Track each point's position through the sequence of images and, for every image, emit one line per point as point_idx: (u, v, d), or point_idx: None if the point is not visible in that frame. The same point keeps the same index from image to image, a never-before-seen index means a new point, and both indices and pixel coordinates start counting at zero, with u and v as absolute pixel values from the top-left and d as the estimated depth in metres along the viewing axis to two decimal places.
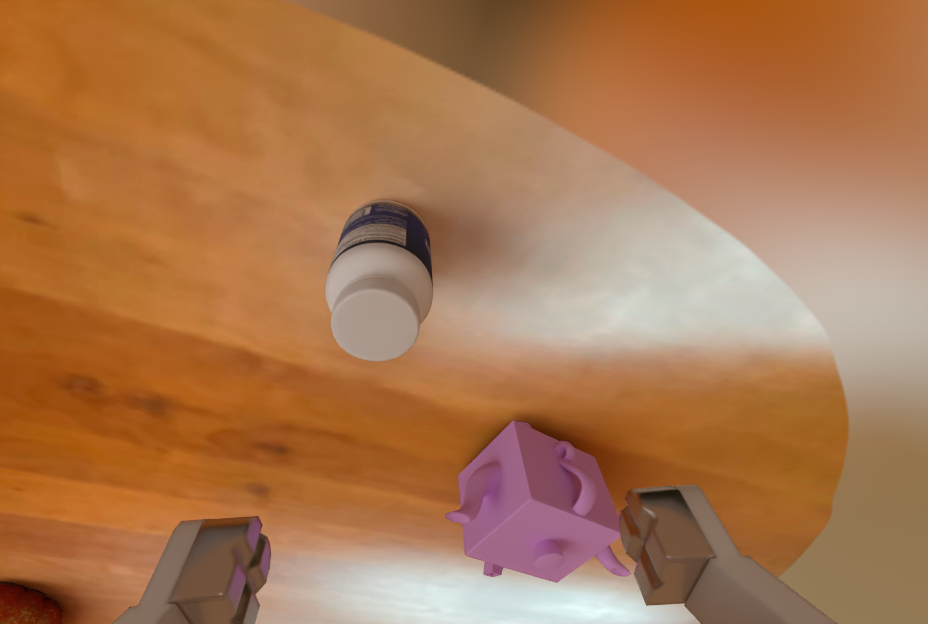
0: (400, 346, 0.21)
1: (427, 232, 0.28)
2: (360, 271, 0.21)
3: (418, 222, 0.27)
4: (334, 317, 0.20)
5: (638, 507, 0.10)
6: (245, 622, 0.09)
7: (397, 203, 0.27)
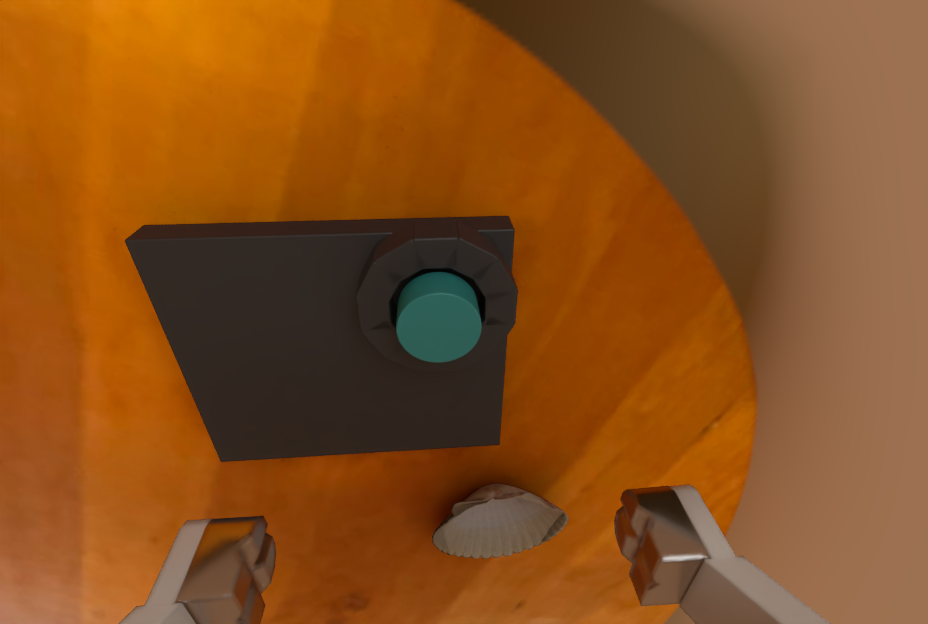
0: None
1: None
2: None
3: None
4: None
5: (633, 508, 0.10)
6: (251, 622, 0.09)
7: None
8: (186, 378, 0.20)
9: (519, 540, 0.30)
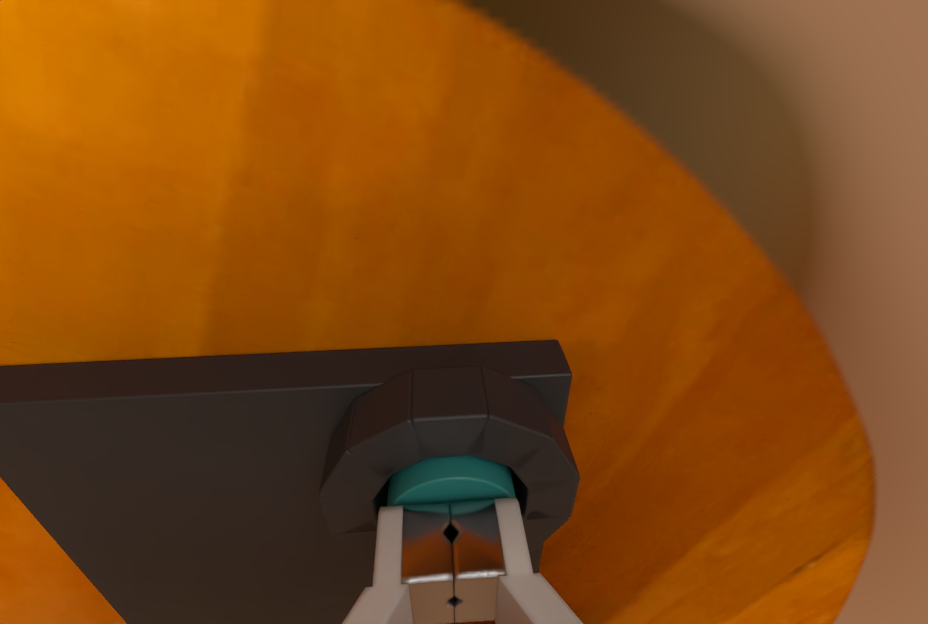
0: None
1: None
2: None
3: None
4: None
5: (450, 521, 0.09)
6: (453, 604, 0.09)
7: None
8: (79, 566, 0.13)
9: None
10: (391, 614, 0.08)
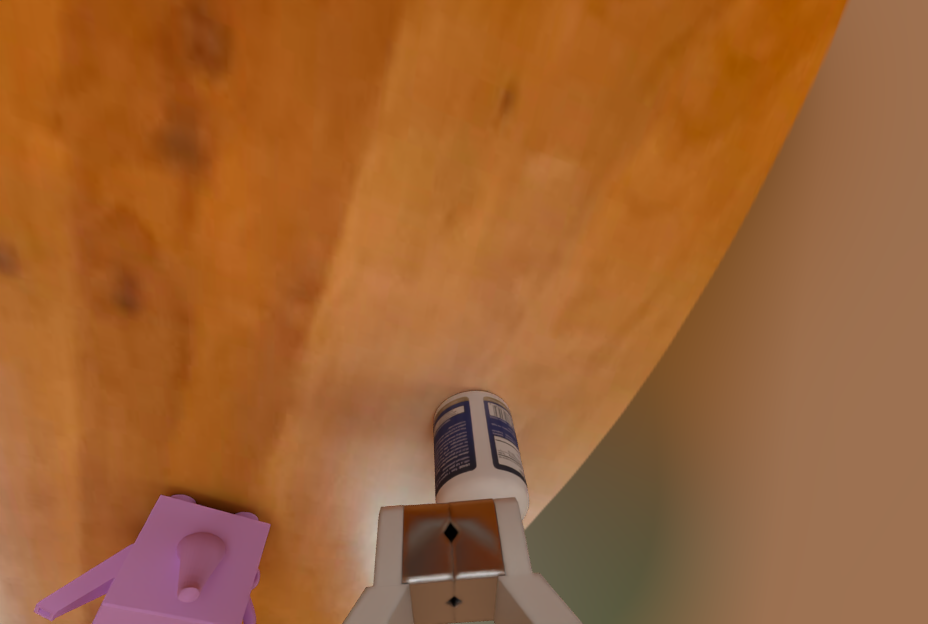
0: None
1: None
2: None
3: None
4: None
5: (449, 522, 0.09)
6: (454, 604, 0.09)
7: None
8: None
9: None
10: (392, 614, 0.08)
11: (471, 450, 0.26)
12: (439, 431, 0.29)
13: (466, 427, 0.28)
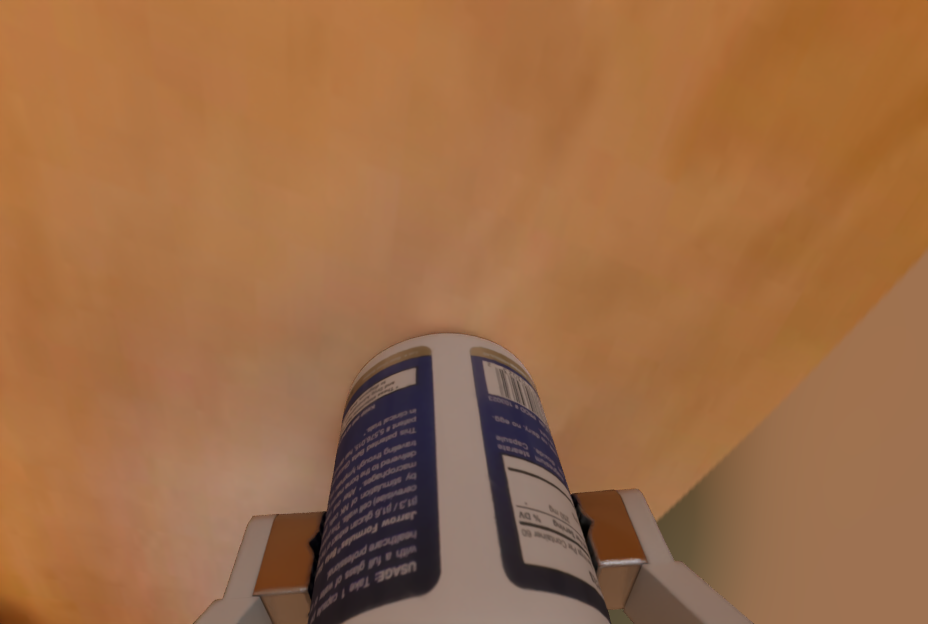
0: None
1: None
2: None
3: None
4: None
5: (577, 512, 0.10)
6: None
7: None
8: None
9: None
10: None
11: (425, 508, 0.08)
12: (345, 439, 0.10)
13: (417, 429, 0.09)
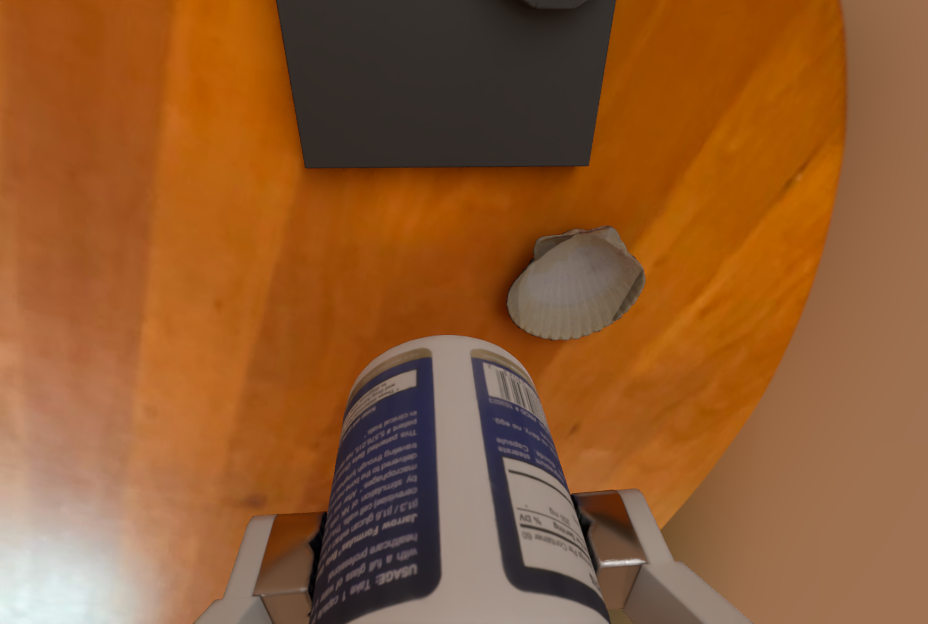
0: None
1: None
2: None
3: None
4: None
5: (577, 512, 0.10)
6: None
7: None
8: (283, 34, 0.19)
9: (589, 321, 0.29)
10: None
11: (425, 510, 0.08)
12: (345, 441, 0.10)
13: (418, 431, 0.09)
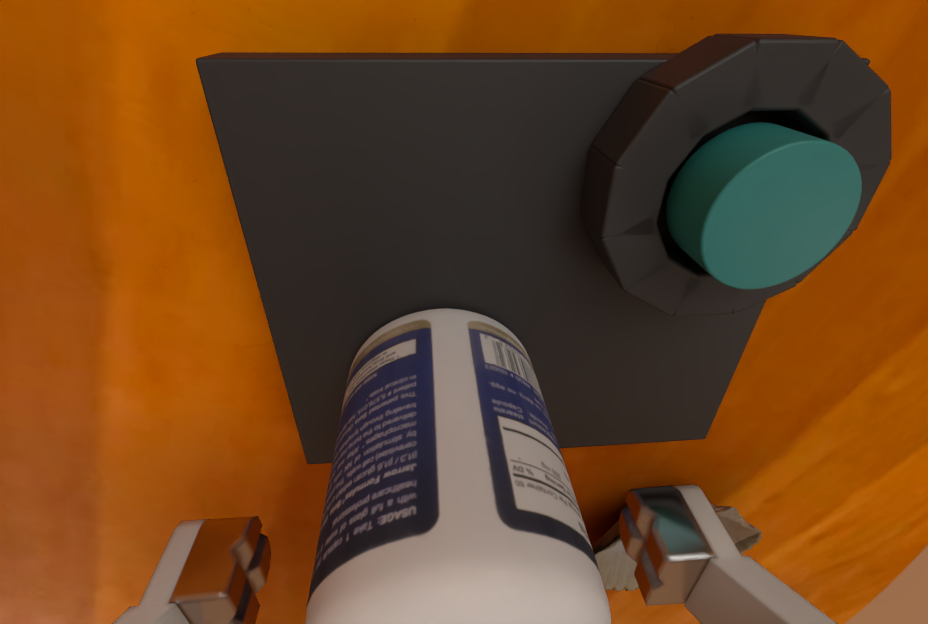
0: None
1: None
2: None
3: None
4: None
5: (638, 507, 0.10)
6: (245, 622, 0.09)
7: None
8: (273, 332, 0.12)
9: None
10: None
11: (424, 460, 0.08)
12: (348, 405, 0.11)
13: (418, 393, 0.09)
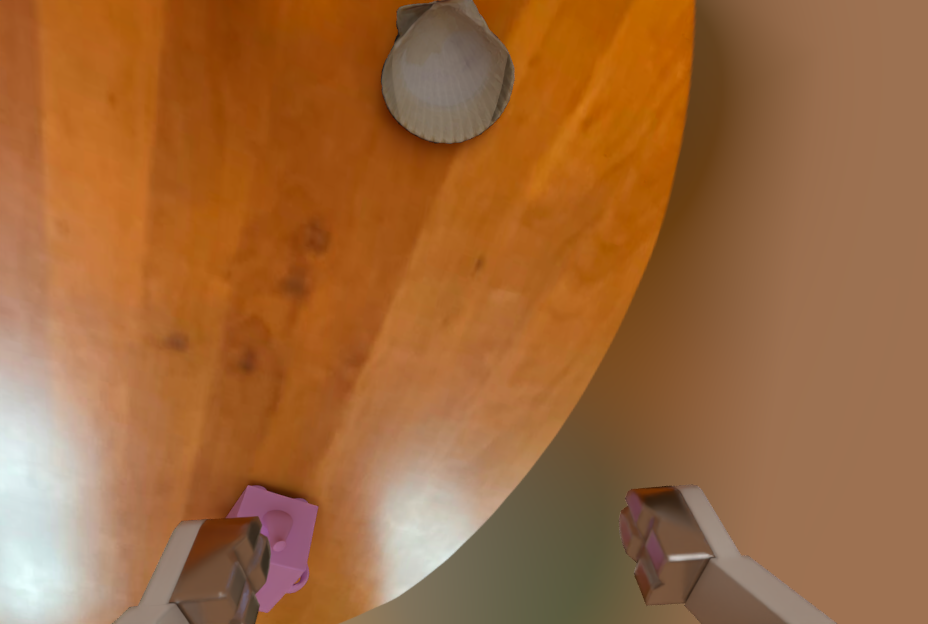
0: None
1: None
2: None
3: None
4: None
5: (638, 507, 0.10)
6: (245, 622, 0.09)
7: None
8: None
9: (470, 123, 0.31)
10: None
11: None
12: None
13: None
